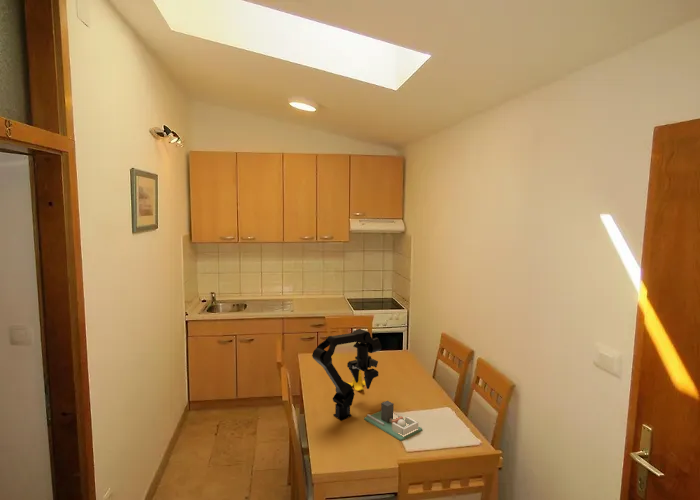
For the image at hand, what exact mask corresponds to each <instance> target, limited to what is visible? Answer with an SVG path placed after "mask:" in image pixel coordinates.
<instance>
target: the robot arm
mask: <svg viewBox="0 0 700 500" xmlns="http://www.w3.org/2000/svg"><path fill="white" fill-rule="evenodd" d="M352 343H354V345H353V348H355V349H356V356H355V357H354V359H353V360H349V361H348V362H347V365H346V366H347V368H348V370H349V371H350V373H351V376H352V378H353V377H354V379H355V381H356V383H357V382H358V379H359V371H362V372H363V381H364V380H365V384H366V385H365V388H366V390H369V389H370V387H371V385H372V382H373V380H374V378H377V377H379V371H378V370H376V369H375V368H377V367H378V363H379V361H378V360H377V359H374V358H372V356H371V355H369V354H373V353H376V352H380V351H382V349H383V348H382V347H383V346H382V344H381V341H380V339H379V338H378V337H374V338H372V335H371V332H370V331H367V330H365V329H363V328H358V329H355V330H353V331H352V332H350V333H349V332H348V333H343V334H342V333H341V334H337V335H328V336H327V338H326V339H325V340H324V341H322V342H320V343H319V344H318V345H317V347H316V348H315V349H314V350H313V352H312V354H311V357H312V358H313V360H314V361H315V362H316V363H317V364H318V365H320V366H321V367H322V368H323V370H324V371H325V373H326V375H327V376H328V377H329V379H330V380H331V382H332V384H333V385H334V386H335V394H334V396H333V397H332V401H333V403H335V405H334V406H335V407H334V408H335V413H333V417H335V418H336V419H338V420H340V421H343V420H346V419H348V418H351V417H352V414H351V407H352V405H353V402H354V399H355V397H354V396H355V395H356V394H355V389H354V388H353V386H351V385H350V384H348V383H349V382H348V383H346V382H347V381H345V380H343V379H342V376H341V375H340V374H339V372H338V370H337V369H336V367H335V366H334V364H333V358H332V356H333V355H334V354H335V351H336V347H337V346H340V345H341V346H342V345H347V344H352ZM326 348H328V349H327V350H325V349H326ZM356 359H357V360H356ZM372 367H373V368H372Z"/></svg>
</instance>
